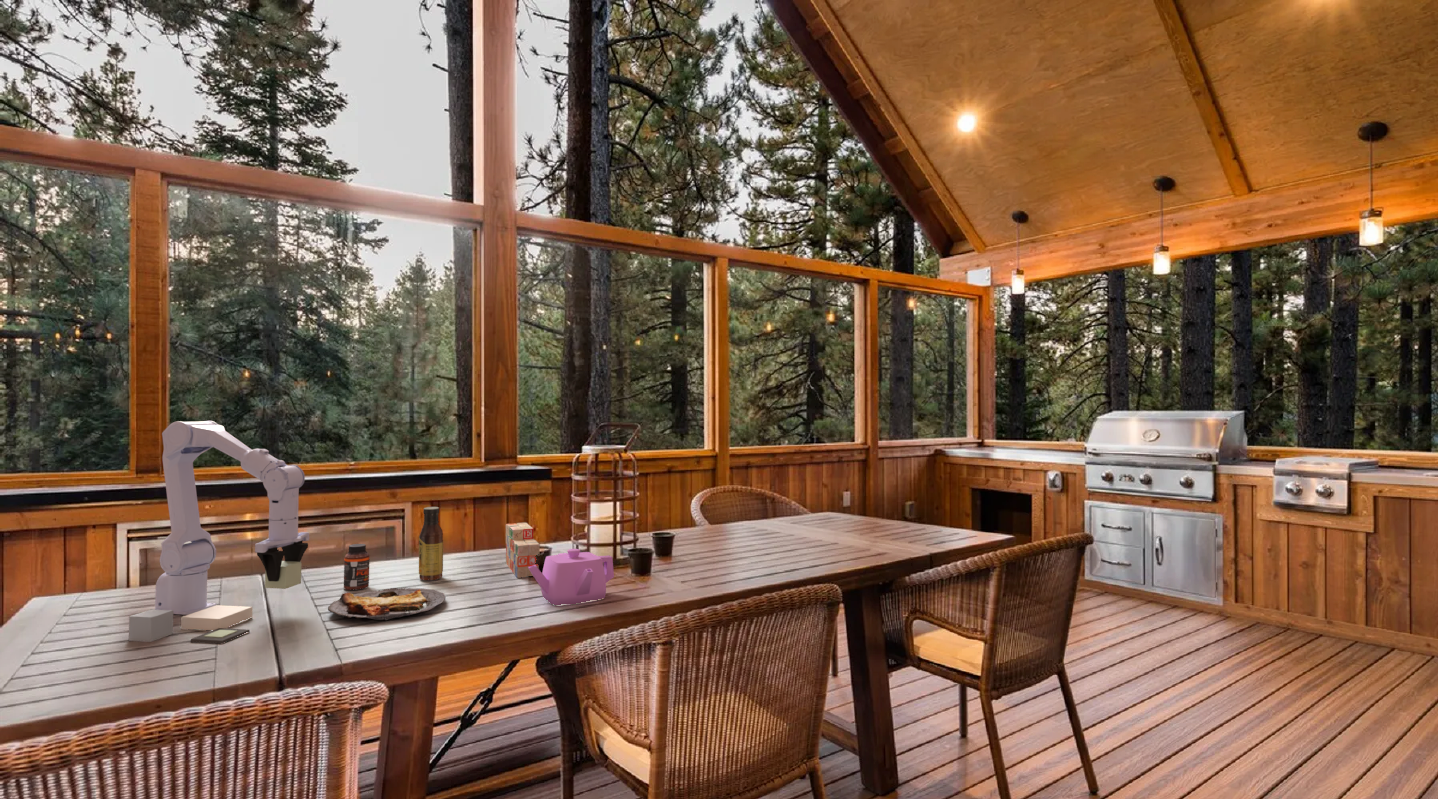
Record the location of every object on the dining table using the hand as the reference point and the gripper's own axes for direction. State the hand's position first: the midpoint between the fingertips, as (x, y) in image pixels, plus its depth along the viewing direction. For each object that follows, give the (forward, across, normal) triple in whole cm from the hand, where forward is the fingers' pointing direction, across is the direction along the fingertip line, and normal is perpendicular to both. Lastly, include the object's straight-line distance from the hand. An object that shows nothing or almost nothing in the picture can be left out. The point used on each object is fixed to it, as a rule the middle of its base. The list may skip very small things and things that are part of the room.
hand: (282, 577), depth 160 cm
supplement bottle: (+9, +24, -2) cm, 26 cm away
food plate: (+9, +8, -21) cm, 24 cm away
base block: (+9, -8, +9) cm, 15 cm away
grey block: (+8, -18, +15) cm, 25 cm away
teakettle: (+9, +23, -61) cm, 66 cm away
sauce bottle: (+9, +36, -16) cm, 40 cm away
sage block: (+2, 0, 0) cm, 2 cm away
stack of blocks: (+9, +51, -36) cm, 63 cm away
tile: (+8, -16, +1) cm, 18 cm away
